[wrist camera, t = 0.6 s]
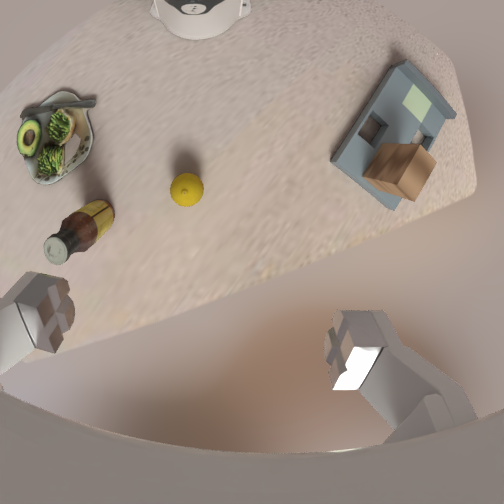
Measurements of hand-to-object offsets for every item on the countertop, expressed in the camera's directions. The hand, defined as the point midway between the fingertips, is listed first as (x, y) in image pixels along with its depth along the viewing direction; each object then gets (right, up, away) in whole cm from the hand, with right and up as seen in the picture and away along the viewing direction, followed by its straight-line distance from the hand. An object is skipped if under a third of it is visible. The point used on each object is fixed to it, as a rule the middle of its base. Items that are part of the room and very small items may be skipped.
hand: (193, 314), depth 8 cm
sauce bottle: (-27, +9, +43) cm, 51 cm away
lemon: (-9, +13, +43) cm, 46 cm away
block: (+26, +18, +43) cm, 53 cm away
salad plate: (-37, +24, +37) cm, 57 cm away
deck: (+30, +25, +44) cm, 59 cm away
